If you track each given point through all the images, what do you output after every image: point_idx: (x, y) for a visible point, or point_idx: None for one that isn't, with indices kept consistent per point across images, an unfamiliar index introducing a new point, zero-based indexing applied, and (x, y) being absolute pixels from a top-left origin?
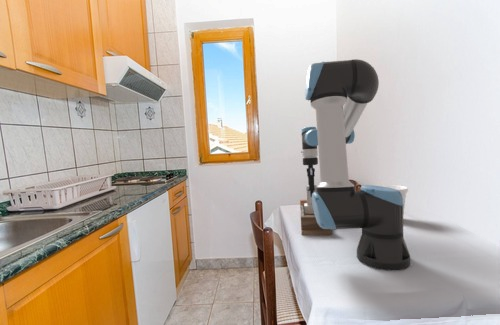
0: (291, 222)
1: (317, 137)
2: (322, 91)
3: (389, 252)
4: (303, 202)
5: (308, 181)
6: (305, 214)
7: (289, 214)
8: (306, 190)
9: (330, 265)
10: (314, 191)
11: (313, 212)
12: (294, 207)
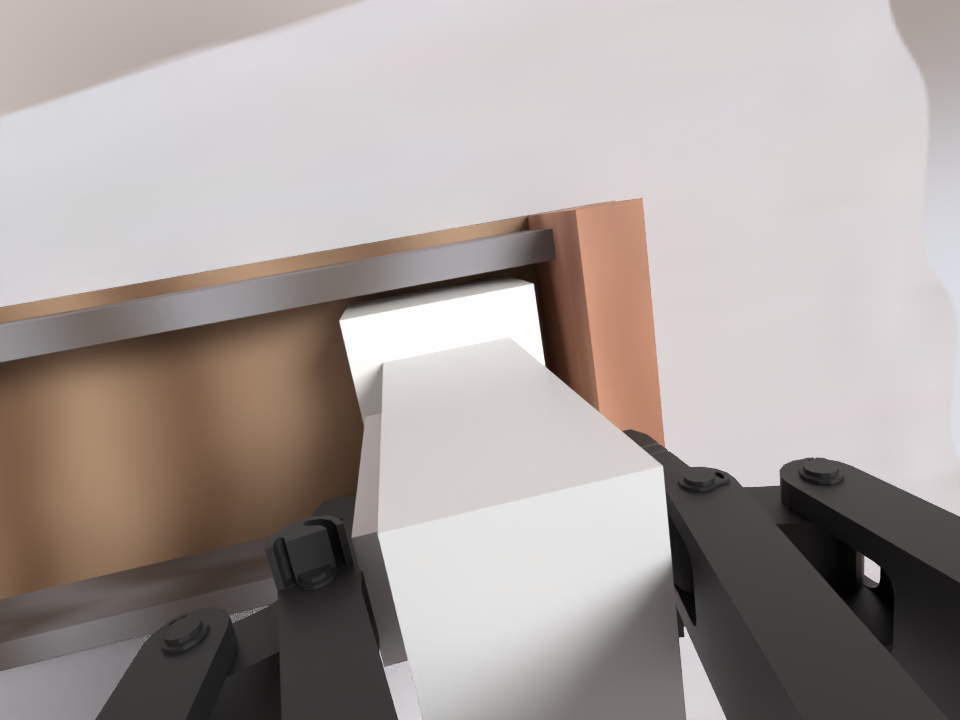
0: (57, 161)
1: None
2: None
3: None
4: (570, 268)
5: (921, 565)
6: (335, 316)
7: (438, 63)
8: (549, 416)
9: None
10: (386, 647)
11: None
12: (798, 80)
